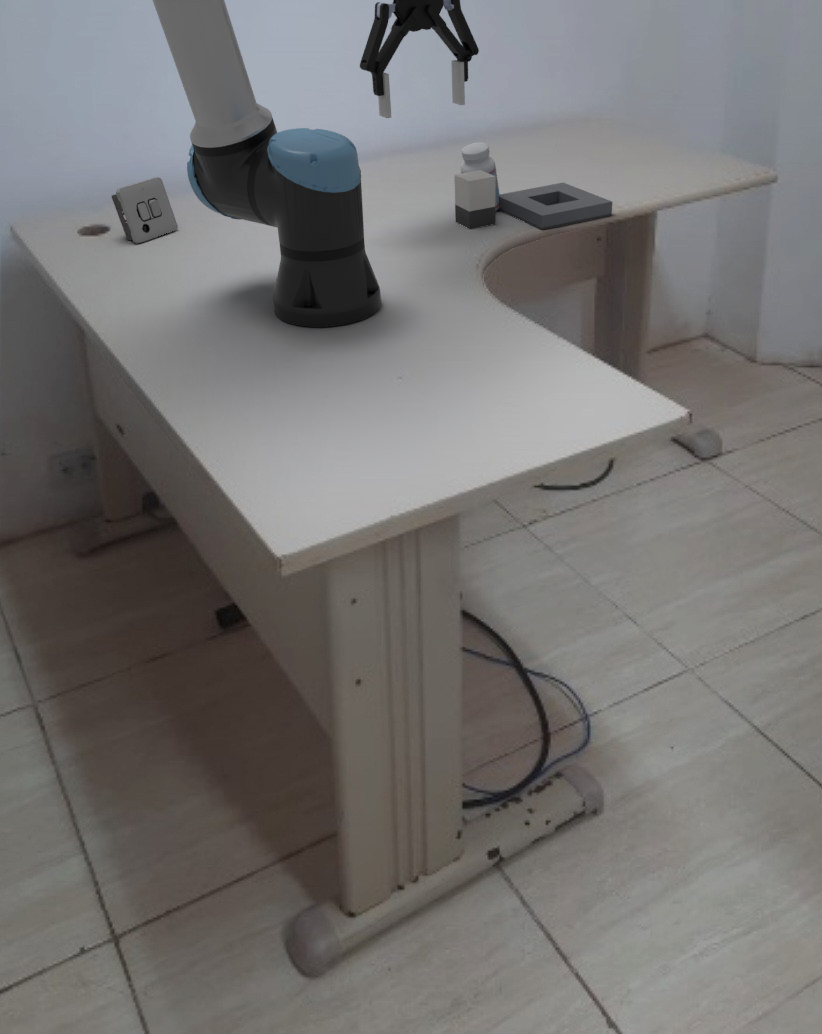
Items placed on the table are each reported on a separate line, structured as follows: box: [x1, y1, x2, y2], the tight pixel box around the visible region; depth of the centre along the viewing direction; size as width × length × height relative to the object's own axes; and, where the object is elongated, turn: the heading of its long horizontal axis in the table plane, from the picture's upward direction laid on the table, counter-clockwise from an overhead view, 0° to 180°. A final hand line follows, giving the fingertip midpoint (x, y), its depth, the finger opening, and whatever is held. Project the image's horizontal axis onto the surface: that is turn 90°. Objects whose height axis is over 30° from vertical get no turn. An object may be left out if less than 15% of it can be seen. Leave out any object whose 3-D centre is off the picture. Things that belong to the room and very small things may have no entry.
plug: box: [454, 170, 496, 230], centre depth 179 cm, size 5×5×8 cm
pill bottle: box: [460, 141, 500, 212], centre depth 184 cm, size 6×6×11 cm
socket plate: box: [498, 182, 613, 231], centre depth 183 cm, size 15×14×2 cm
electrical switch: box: [111, 176, 179, 244], centre depth 181 cm, size 9×5×9 cm, turn 141°
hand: (422, 110), depth 172 cm, fingers open, 13 cm apart
